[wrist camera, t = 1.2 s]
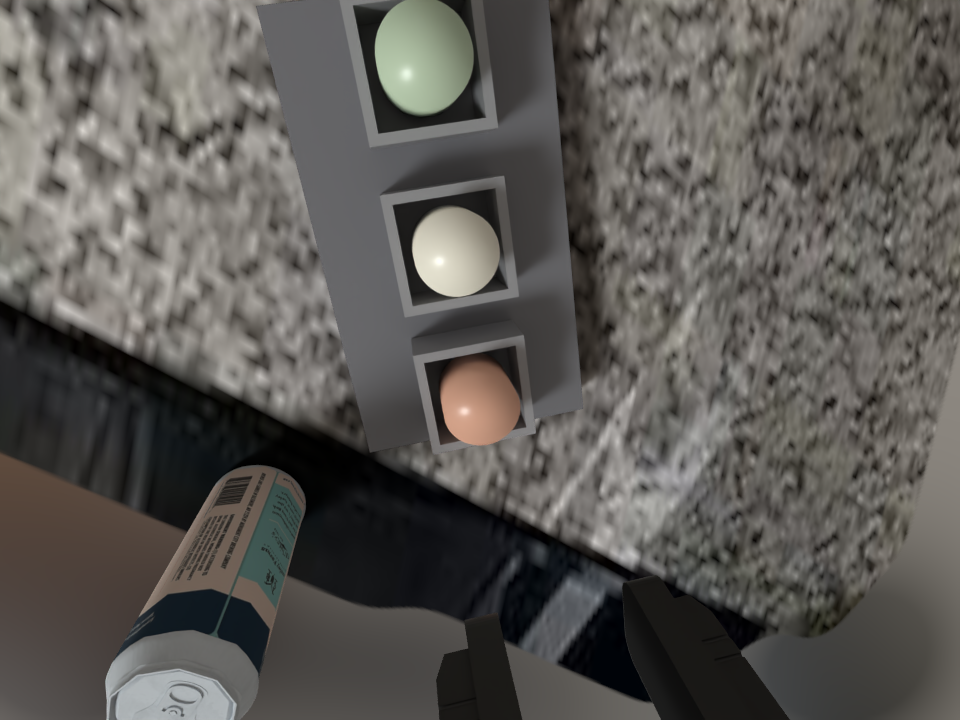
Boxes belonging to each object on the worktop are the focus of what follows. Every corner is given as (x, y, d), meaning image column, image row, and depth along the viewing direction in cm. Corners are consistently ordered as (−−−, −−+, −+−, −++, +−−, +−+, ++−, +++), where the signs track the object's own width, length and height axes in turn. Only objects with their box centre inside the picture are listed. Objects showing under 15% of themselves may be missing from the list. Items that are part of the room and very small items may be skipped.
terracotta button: (502, 346, 24) (515, 367, 21) (510, 409, 25) (524, 436, 22) (433, 359, 23) (437, 383, 21) (444, 422, 25) (450, 452, 22)
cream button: (481, 198, 21) (493, 202, 19) (492, 275, 23) (505, 288, 20) (404, 211, 21) (405, 217, 19) (419, 288, 22) (422, 303, 20)
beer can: (197, 514, 28) (64, 744, 17) (238, 445, 27) (126, 638, 16) (281, 548, 29) (211, 780, 18) (323, 483, 28) (277, 685, 17)
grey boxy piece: (533, -13, 22) (565, -57, 18) (571, 393, 29) (601, 431, 25) (268, 20, 21) (236, -18, 17) (371, 433, 28) (367, 480, 24)
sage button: (456, 16, 19) (465, -9, 17) (469, 111, 20) (480, 102, 18) (368, 27, 19) (364, 3, 16) (387, 123, 20) (386, 115, 17)
